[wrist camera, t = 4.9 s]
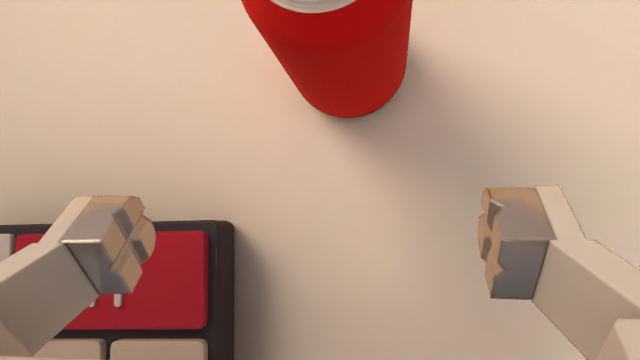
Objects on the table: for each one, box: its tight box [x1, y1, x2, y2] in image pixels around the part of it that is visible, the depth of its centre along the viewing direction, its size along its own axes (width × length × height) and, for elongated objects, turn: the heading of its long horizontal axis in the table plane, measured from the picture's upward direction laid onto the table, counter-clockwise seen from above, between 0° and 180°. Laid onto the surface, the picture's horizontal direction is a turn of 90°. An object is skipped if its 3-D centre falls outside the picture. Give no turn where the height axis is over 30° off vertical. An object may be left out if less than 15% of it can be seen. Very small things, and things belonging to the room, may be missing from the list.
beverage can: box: [242, 0, 412, 118], centre depth 20 cm, size 6×6×12 cm
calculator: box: [0, 220, 234, 360], centre depth 24 cm, size 11×4×15 cm
